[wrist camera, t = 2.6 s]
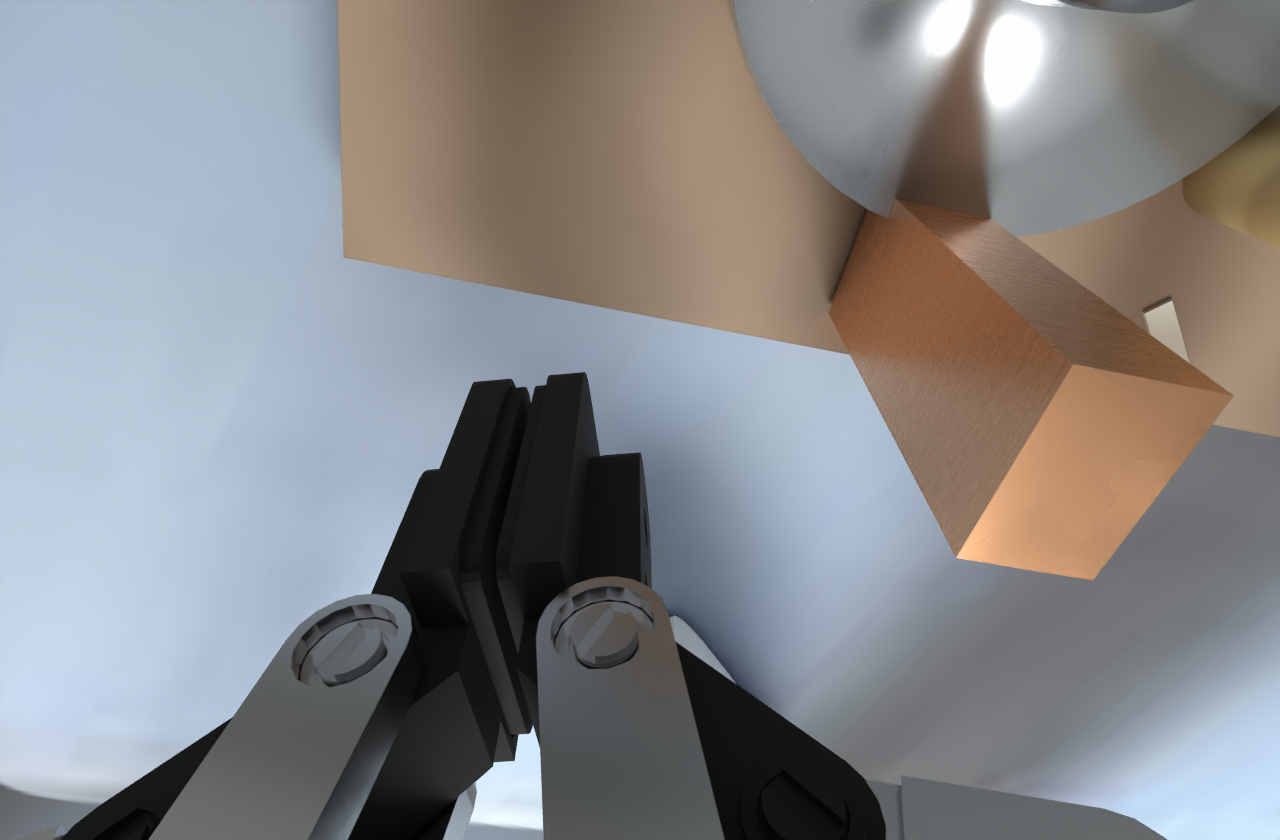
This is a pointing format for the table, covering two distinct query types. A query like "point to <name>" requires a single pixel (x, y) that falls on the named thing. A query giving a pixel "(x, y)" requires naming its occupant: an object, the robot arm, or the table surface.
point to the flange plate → (1013, 236)
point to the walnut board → (721, 186)
